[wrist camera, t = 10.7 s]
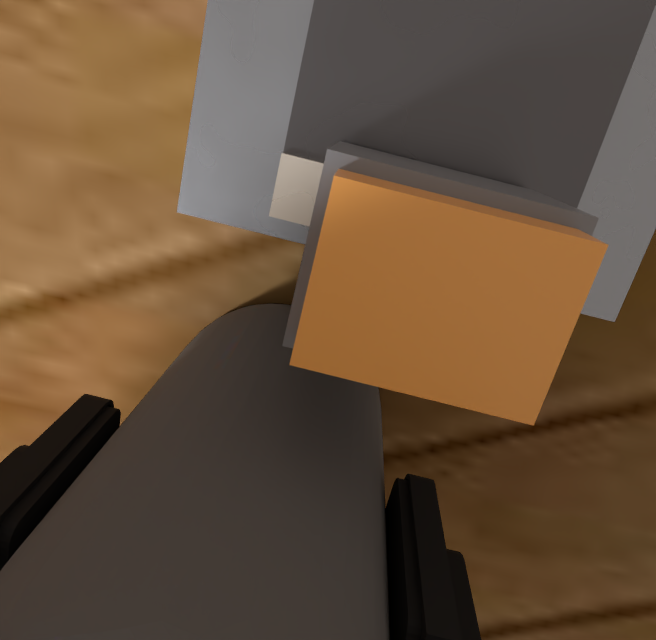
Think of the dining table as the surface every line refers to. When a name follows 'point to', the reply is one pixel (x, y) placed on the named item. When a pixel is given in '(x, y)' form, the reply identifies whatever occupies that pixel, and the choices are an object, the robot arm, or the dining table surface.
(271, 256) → the dining table surface
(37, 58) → the dining table surface
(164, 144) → the dining table surface
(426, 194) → the toggle
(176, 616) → the bottle
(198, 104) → the panel
